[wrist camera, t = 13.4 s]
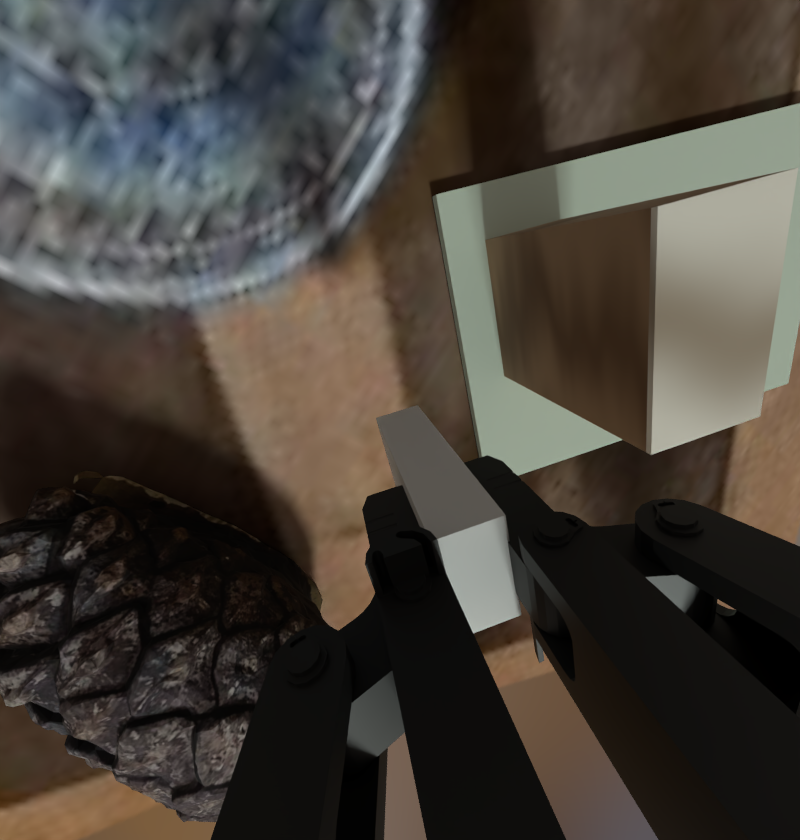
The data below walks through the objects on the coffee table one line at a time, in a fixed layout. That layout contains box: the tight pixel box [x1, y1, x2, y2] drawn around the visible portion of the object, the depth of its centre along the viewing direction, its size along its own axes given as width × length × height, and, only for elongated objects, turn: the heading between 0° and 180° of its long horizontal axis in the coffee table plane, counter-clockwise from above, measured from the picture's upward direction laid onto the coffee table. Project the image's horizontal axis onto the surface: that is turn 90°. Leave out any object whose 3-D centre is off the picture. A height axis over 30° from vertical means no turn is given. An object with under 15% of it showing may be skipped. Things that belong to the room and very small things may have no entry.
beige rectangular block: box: [485, 168, 798, 455], centre depth 15 cm, size 7×4×10 cm, turn 14°
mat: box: [432, 103, 800, 476], centre depth 22 cm, size 16×22×1 cm
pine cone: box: [0, 471, 329, 822], centre depth 18 cm, size 10×18×10 cm, turn 48°
